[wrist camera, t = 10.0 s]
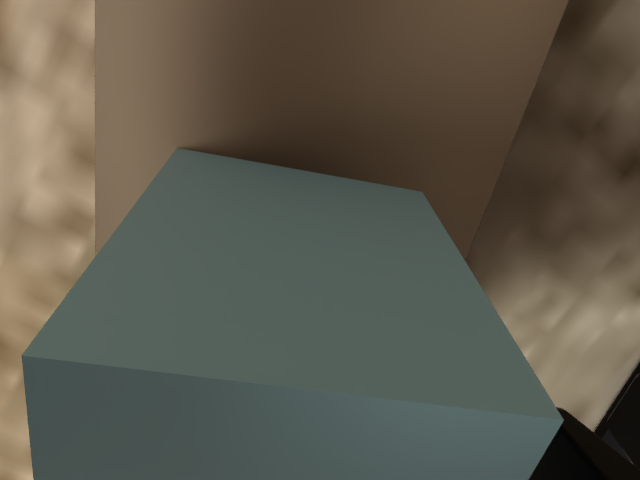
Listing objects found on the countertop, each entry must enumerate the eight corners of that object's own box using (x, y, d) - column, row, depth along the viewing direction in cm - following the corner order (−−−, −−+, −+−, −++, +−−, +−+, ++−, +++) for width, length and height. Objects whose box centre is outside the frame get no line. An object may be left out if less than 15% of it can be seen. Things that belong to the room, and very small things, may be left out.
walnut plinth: (546, -181, 10) (673, -266, 7) (340, 449, 19) (350, 552, 16) (170, -294, 9) (93, -464, 6) (134, 427, 18) (95, 532, 15)
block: (422, 191, 10) (564, 420, 5) (364, 373, 12) (416, 667, 7) (176, 147, 9) (21, 355, 4) (162, 347, 12) (49, 651, 6)
